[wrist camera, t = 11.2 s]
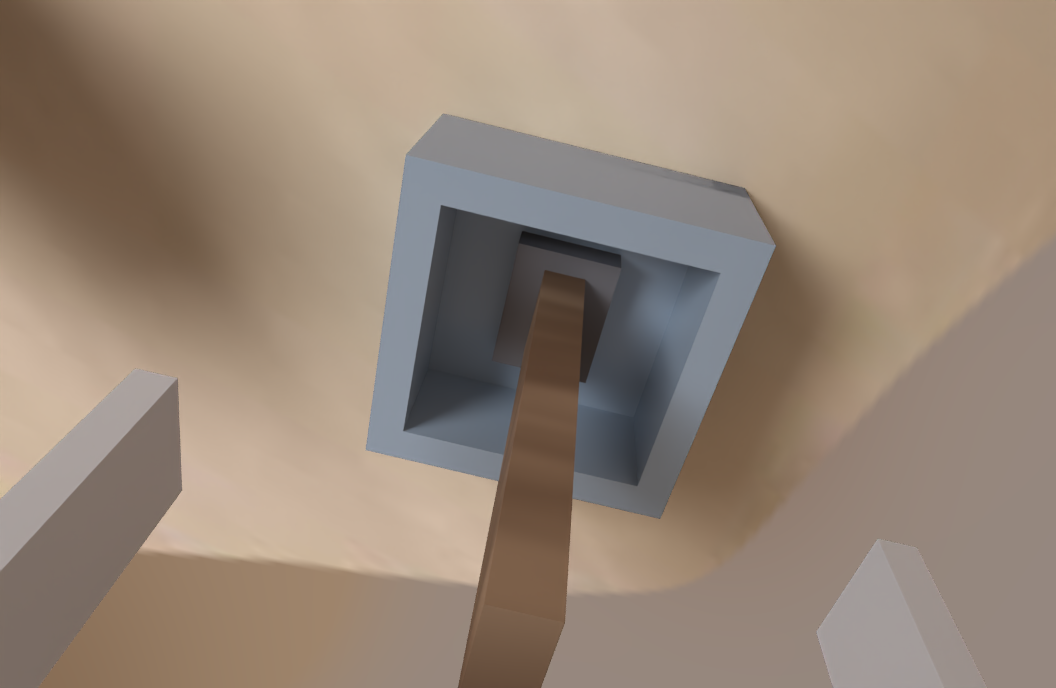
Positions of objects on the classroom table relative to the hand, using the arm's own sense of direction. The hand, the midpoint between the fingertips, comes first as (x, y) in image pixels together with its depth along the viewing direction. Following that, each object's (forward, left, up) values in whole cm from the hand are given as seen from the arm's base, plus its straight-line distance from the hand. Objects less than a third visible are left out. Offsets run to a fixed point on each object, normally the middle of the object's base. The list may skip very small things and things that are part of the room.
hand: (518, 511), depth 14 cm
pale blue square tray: (0, 0, -11) cm, 11 cm away
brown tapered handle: (0, 0, -10) cm, 10 cm away
